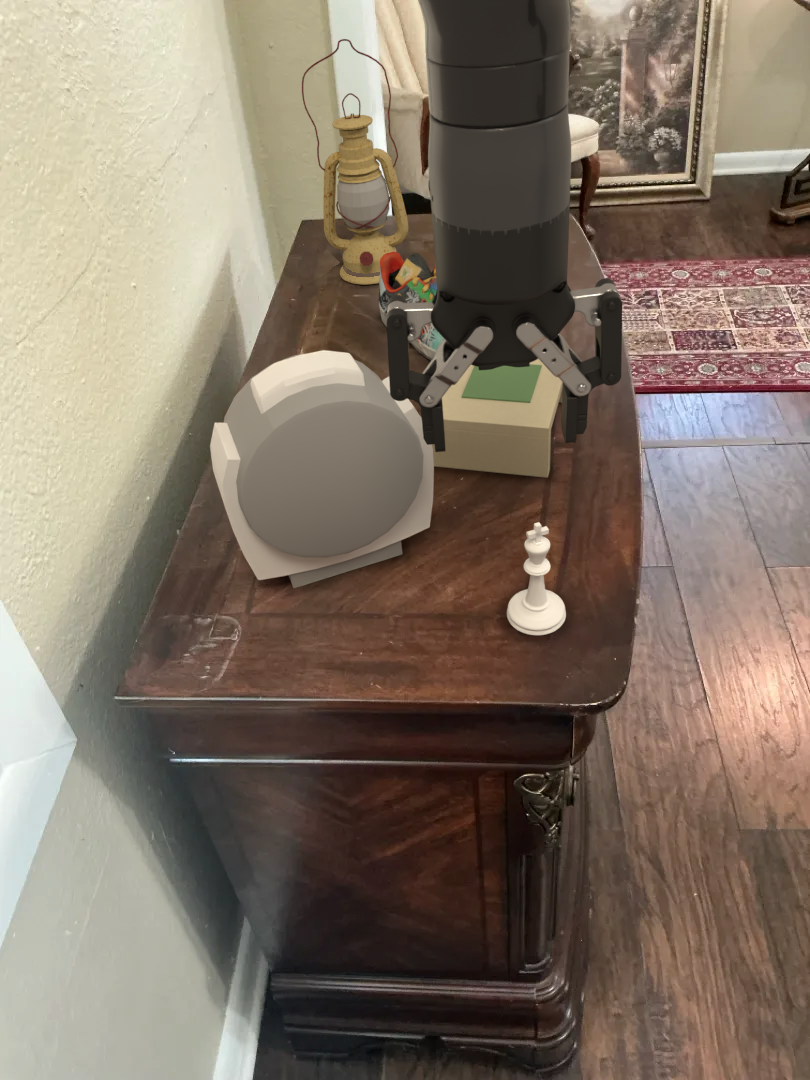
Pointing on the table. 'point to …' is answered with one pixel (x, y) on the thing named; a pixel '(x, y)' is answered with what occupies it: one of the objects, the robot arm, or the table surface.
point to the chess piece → (536, 591)
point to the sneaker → (410, 293)
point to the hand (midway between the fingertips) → (504, 440)
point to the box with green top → (500, 420)
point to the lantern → (361, 193)
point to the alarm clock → (321, 468)
